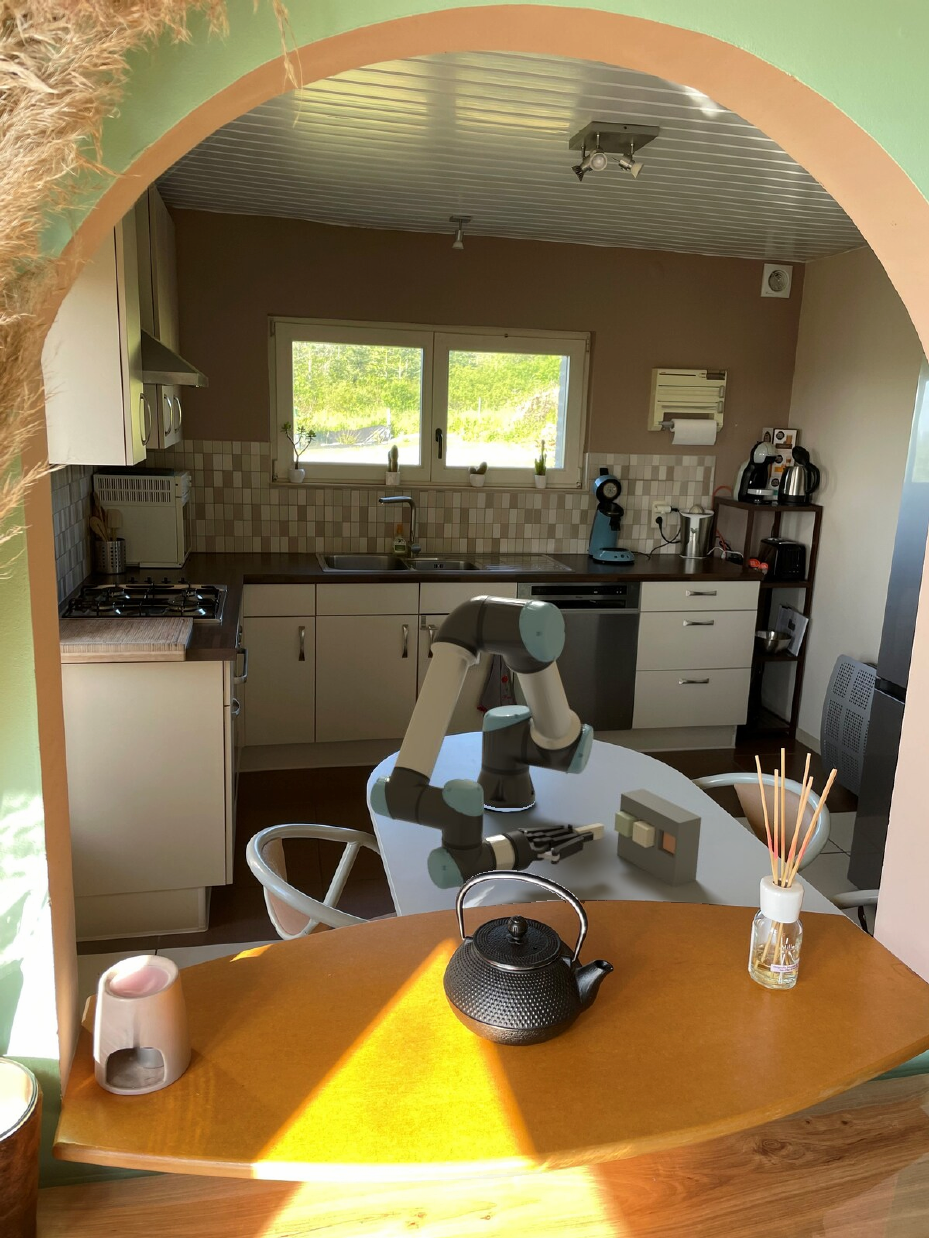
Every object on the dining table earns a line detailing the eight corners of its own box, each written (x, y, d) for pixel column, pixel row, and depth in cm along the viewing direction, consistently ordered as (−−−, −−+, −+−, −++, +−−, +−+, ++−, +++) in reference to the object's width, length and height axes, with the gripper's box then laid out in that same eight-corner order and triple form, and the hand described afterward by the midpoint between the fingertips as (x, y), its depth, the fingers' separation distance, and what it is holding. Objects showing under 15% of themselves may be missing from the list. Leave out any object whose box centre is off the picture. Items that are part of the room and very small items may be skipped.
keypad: (616, 855, 197) (621, 793, 195) (638, 849, 201) (642, 788, 198) (673, 889, 183) (679, 823, 181) (695, 882, 186) (701, 817, 184)
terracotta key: (662, 847, 187) (664, 829, 186) (677, 843, 189) (678, 826, 188) (676, 855, 183) (678, 837, 183) (691, 851, 185) (693, 833, 185)
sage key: (614, 829, 194) (615, 812, 194) (628, 826, 196) (630, 809, 196) (627, 837, 191) (628, 819, 190) (641, 833, 193) (643, 816, 192)
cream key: (632, 840, 190) (633, 822, 189) (647, 836, 192) (648, 818, 191) (645, 847, 186) (647, 829, 186) (660, 843, 188) (661, 826, 188)
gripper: (485, 858, 184) (580, 835, 196) (523, 886, 173) (621, 859, 185) (487, 822, 182) (582, 801, 194) (525, 848, 171) (623, 824, 183)
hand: (601, 830), depth 190 cm, fingers closed
